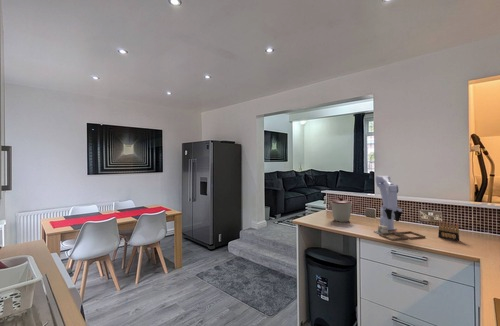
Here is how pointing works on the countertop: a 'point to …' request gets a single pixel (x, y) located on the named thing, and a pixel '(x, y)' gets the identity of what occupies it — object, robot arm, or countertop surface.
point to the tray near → (394, 234)
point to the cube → (382, 229)
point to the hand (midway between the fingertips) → (393, 220)
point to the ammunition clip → (444, 231)
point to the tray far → (412, 233)
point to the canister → (341, 209)
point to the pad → (379, 232)
